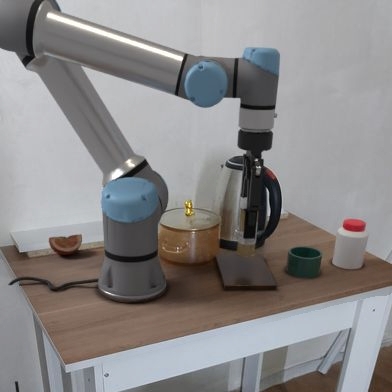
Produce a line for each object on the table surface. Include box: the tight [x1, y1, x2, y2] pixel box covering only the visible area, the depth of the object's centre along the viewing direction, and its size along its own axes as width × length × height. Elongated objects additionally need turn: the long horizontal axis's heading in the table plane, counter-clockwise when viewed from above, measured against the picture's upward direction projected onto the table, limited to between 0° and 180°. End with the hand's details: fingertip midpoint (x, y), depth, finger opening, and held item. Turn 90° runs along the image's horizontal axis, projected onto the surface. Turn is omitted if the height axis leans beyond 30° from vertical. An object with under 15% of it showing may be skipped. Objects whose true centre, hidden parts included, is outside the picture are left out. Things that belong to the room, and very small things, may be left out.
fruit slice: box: [48, 234, 83, 256], centre depth 141 cm, size 8×7×5 cm
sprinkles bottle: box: [235, 197, 259, 258], centre depth 130 cm, size 5×5×13 cm
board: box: [214, 252, 278, 291], centre depth 136 cm, size 12×20×1 cm, turn 5°
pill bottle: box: [331, 218, 370, 270], centre depth 141 cm, size 8×8×11 cm
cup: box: [285, 245, 324, 279], centre depth 137 cm, size 8×8×5 cm
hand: (247, 234), depth 131 cm, fingers closed on sprinkles bottle, 5 cm apart
